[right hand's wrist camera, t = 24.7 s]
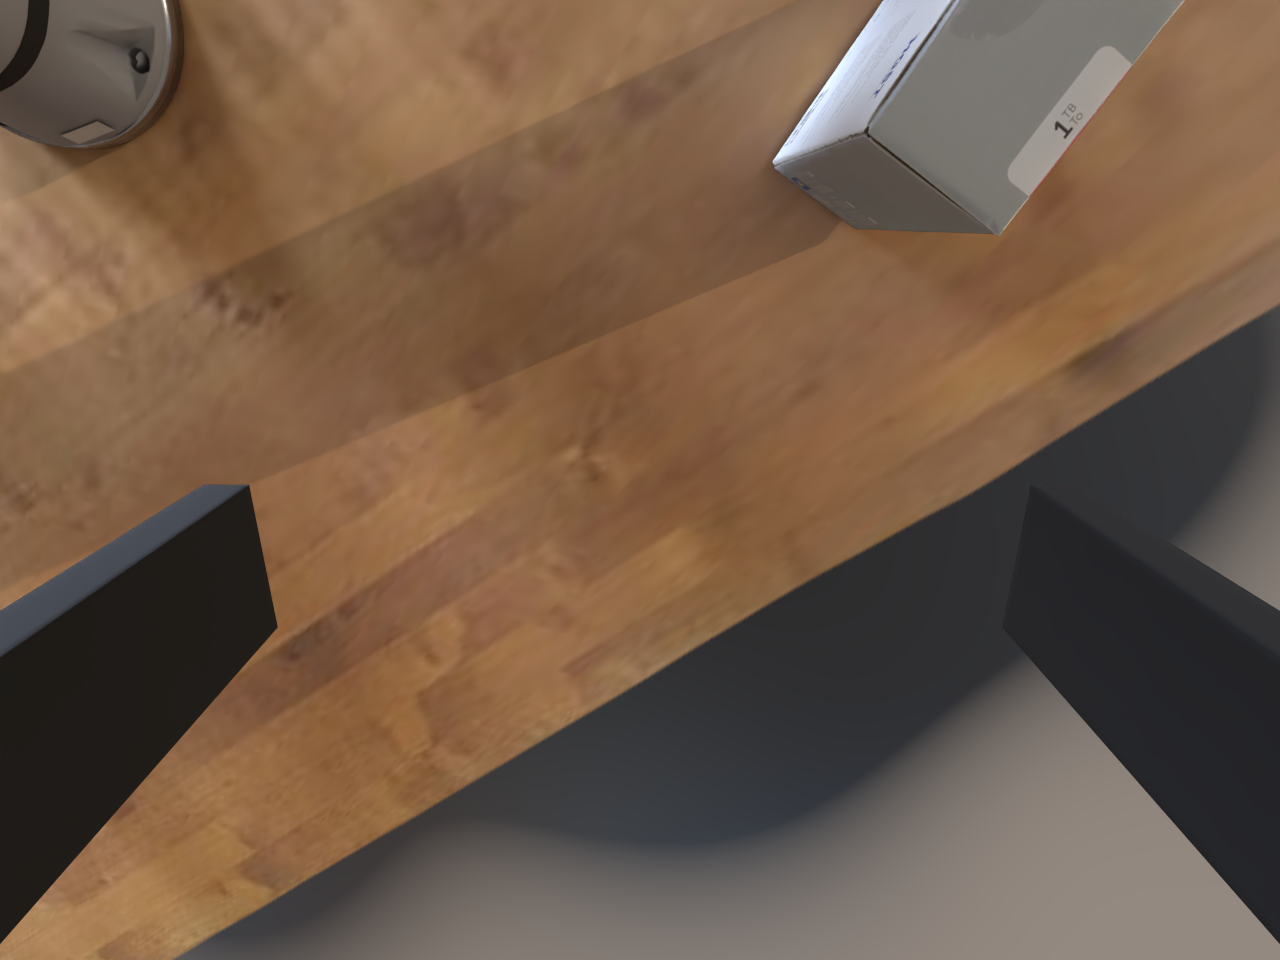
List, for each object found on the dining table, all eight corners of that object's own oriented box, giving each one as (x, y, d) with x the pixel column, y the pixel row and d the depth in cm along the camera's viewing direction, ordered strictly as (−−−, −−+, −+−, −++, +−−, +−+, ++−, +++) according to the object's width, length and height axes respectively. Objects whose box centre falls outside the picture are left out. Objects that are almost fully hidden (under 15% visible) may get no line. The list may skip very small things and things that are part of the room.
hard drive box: (858, 234, 49) (993, 246, 30) (768, 165, 47) (851, 134, 29) (1020, 12, 44) (1297, -134, 26) (926, -71, 43) (1148, -290, 24)
